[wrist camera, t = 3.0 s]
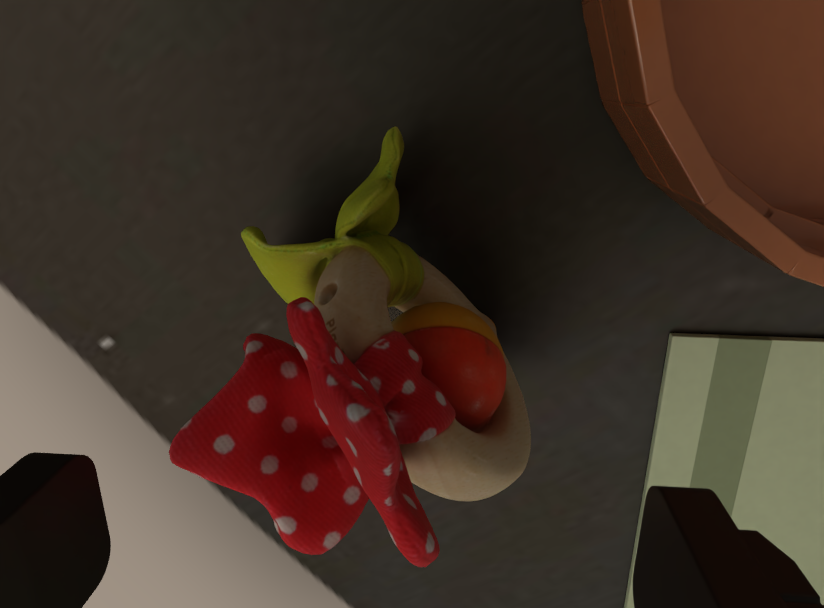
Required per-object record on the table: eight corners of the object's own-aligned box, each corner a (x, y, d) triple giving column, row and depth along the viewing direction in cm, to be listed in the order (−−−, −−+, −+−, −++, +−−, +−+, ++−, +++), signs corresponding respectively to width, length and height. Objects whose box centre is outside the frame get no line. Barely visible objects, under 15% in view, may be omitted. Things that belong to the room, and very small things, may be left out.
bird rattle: (535, 241, 20) (329, 58, 15) (749, 527, 12) (430, 314, 7) (410, 358, 22) (193, 228, 17) (513, 678, 14) (133, 597, 9)
